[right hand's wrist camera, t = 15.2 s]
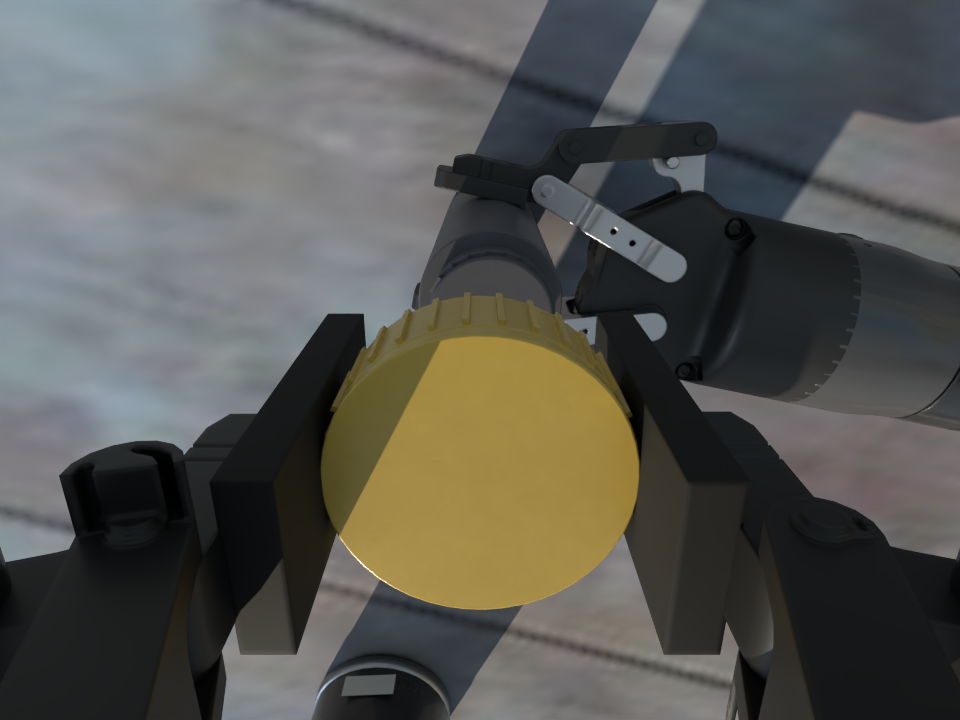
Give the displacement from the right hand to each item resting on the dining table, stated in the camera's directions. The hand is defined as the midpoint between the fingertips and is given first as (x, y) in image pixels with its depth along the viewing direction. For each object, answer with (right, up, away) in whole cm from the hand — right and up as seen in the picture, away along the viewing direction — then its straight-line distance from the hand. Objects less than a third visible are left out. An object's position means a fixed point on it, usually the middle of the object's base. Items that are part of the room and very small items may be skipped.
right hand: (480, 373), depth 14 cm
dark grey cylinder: (0, +7, +19) cm, 21 cm away
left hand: (-2, +5, +13) cm, 14 cm away
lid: (0, -2, -4) cm, 4 cm away
